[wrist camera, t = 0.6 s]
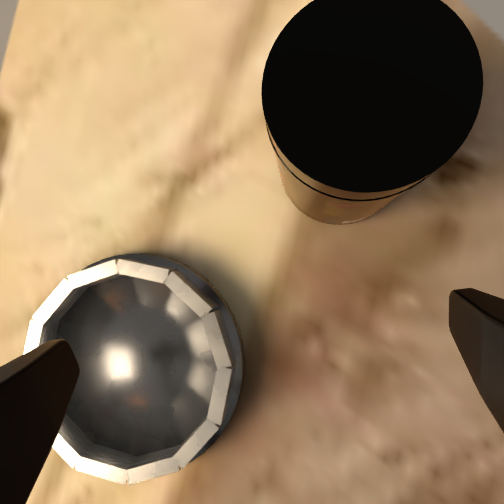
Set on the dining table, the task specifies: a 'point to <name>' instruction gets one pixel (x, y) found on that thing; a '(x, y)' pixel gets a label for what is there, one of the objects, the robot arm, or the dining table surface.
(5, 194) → the dining table surface
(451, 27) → the supplement container
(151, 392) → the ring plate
